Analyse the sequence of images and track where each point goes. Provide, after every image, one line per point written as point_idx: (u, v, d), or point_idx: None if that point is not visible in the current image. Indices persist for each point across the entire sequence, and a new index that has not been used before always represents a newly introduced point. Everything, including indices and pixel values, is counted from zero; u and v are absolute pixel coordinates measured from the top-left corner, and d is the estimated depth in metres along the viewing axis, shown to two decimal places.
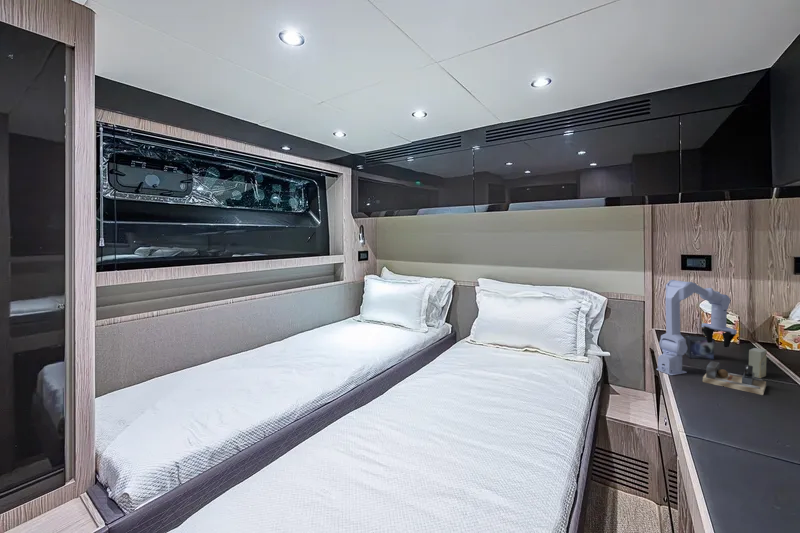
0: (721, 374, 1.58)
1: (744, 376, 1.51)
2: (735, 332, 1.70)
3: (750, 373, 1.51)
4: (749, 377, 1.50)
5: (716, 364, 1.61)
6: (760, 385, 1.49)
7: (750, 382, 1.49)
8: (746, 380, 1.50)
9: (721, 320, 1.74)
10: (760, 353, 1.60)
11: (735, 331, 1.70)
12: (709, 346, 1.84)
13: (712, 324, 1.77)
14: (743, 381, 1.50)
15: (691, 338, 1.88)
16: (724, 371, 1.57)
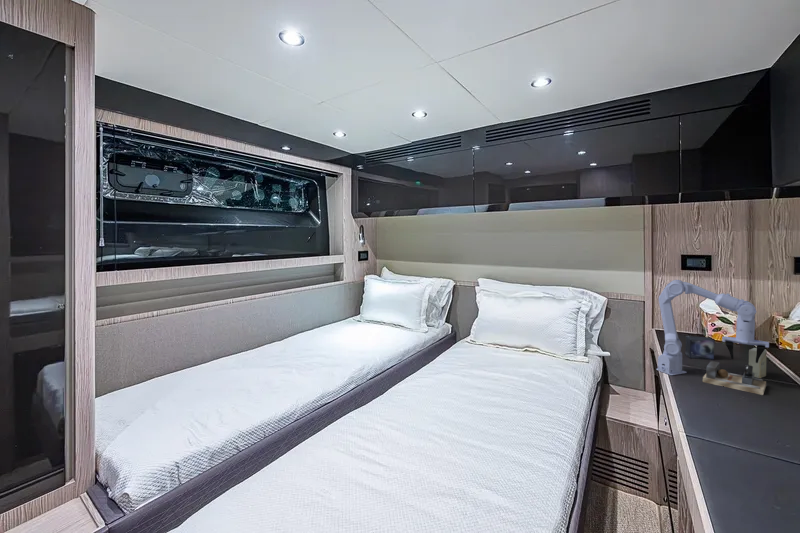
0: (721, 374, 1.58)
1: (744, 376, 1.51)
2: (722, 339, 1.60)
3: (750, 373, 1.51)
4: (749, 377, 1.50)
5: (716, 364, 1.61)
6: (760, 385, 1.49)
7: (750, 382, 1.49)
8: (746, 380, 1.50)
9: None
10: None
11: (722, 338, 1.60)
12: (709, 346, 1.84)
13: None
14: (743, 381, 1.50)
15: (691, 338, 1.88)
16: (724, 371, 1.57)
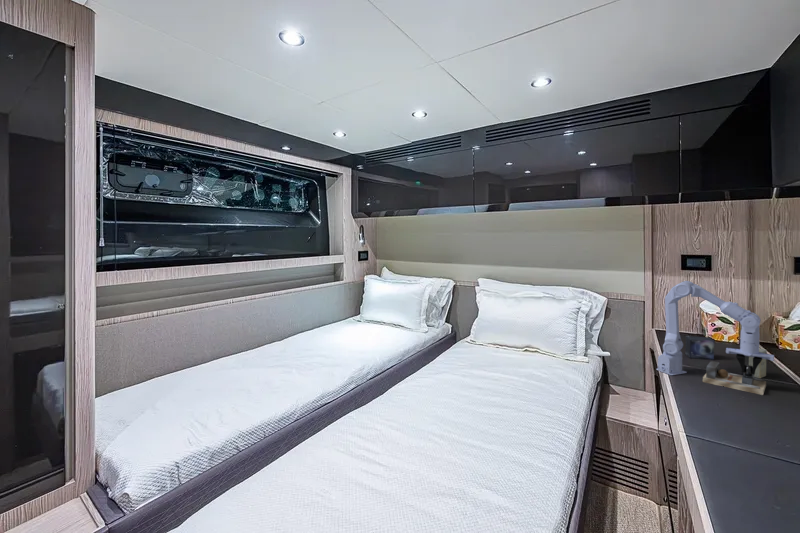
0: (721, 374, 1.58)
1: (744, 376, 1.51)
2: (726, 351, 1.57)
3: (750, 373, 1.51)
4: (749, 377, 1.50)
5: (716, 364, 1.61)
6: (760, 385, 1.49)
7: (750, 382, 1.49)
8: (746, 380, 1.50)
9: None
10: None
11: (726, 350, 1.57)
12: (709, 346, 1.84)
13: None
14: (743, 381, 1.50)
15: (691, 338, 1.88)
16: (724, 371, 1.57)
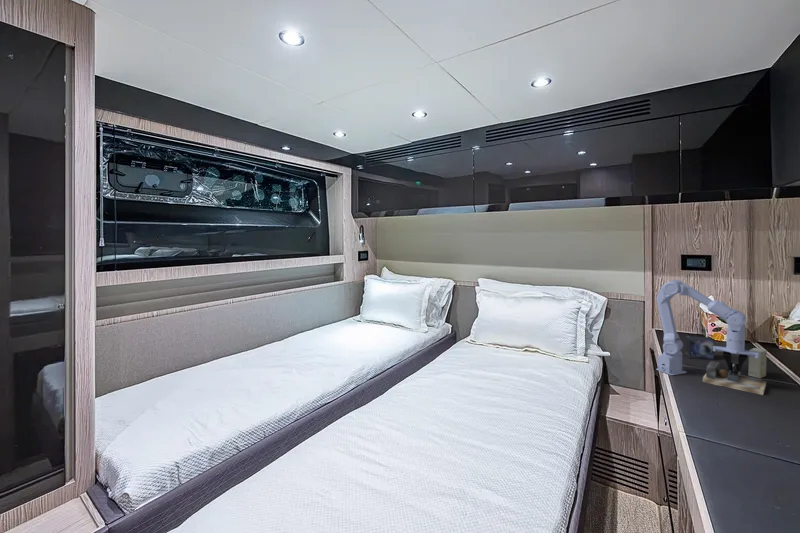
0: (721, 374, 1.58)
1: (730, 373, 1.54)
2: (713, 349, 1.60)
3: (736, 370, 1.54)
4: (735, 374, 1.53)
5: (716, 364, 1.61)
6: (760, 385, 1.49)
7: (736, 379, 1.52)
8: (732, 377, 1.53)
9: None
10: (760, 353, 1.60)
11: (713, 347, 1.60)
12: (709, 346, 1.84)
13: None
14: (729, 378, 1.54)
15: (691, 338, 1.88)
16: (724, 371, 1.57)
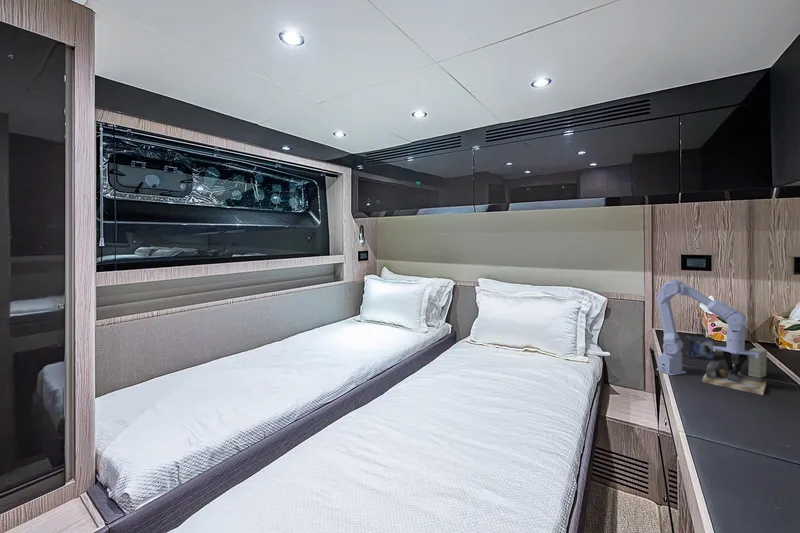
0: (721, 374, 1.58)
1: (730, 373, 1.54)
2: (713, 349, 1.60)
3: (736, 370, 1.54)
4: (735, 374, 1.53)
5: (716, 364, 1.61)
6: (760, 385, 1.49)
7: (736, 379, 1.52)
8: (732, 377, 1.53)
9: None
10: (760, 353, 1.60)
11: (713, 347, 1.60)
12: (709, 346, 1.84)
13: None
14: (729, 378, 1.54)
15: (691, 338, 1.88)
16: (724, 371, 1.57)
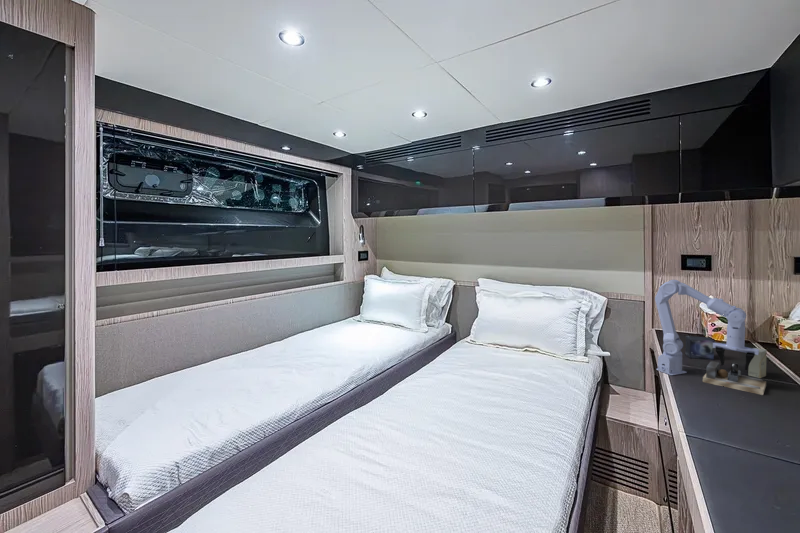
0: (721, 374, 1.58)
1: (730, 373, 1.54)
2: (713, 345, 1.60)
3: (736, 370, 1.54)
4: (735, 374, 1.53)
5: (716, 364, 1.61)
6: (760, 385, 1.49)
7: (736, 379, 1.52)
8: (732, 377, 1.53)
9: None
10: (760, 353, 1.60)
11: (713, 344, 1.60)
12: (709, 346, 1.84)
13: None
14: (729, 378, 1.54)
15: (691, 338, 1.88)
16: (724, 371, 1.57)
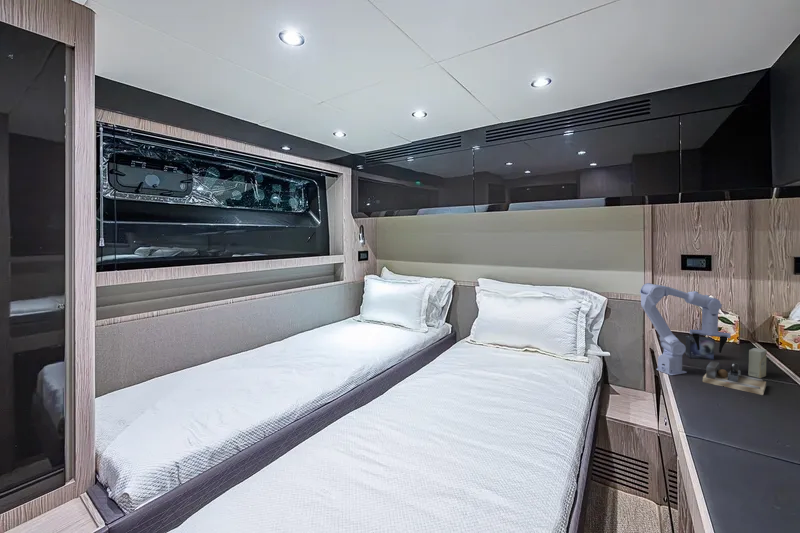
0: (721, 374, 1.58)
1: (730, 373, 1.54)
2: None
3: (736, 370, 1.54)
4: (735, 374, 1.53)
5: (716, 364, 1.61)
6: (760, 385, 1.49)
7: (736, 379, 1.52)
8: (732, 377, 1.53)
9: None
10: (760, 353, 1.60)
11: None
12: (709, 346, 1.84)
13: None
14: (729, 378, 1.54)
15: (691, 338, 1.88)
16: (724, 371, 1.57)
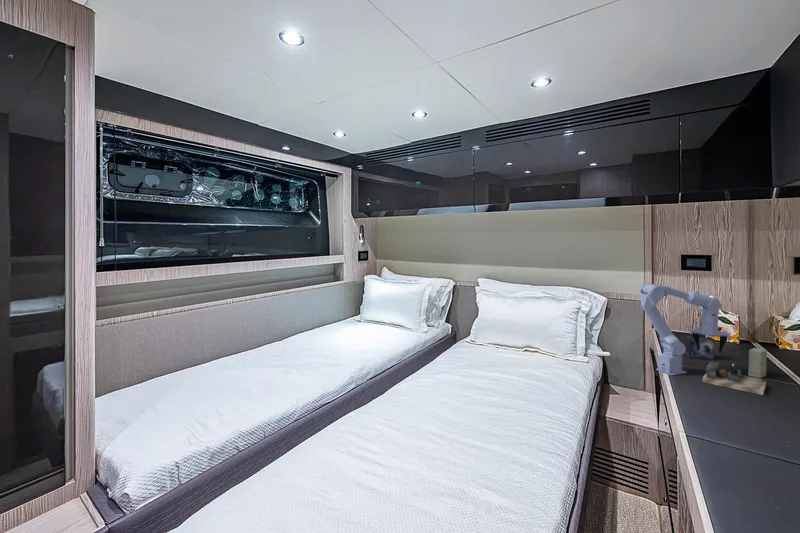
0: (721, 374, 1.58)
1: (730, 373, 1.54)
2: None
3: (736, 370, 1.54)
4: (735, 374, 1.53)
5: (716, 364, 1.61)
6: (760, 385, 1.49)
7: (736, 379, 1.52)
8: (732, 377, 1.53)
9: None
10: (760, 353, 1.60)
11: None
12: (709, 346, 1.84)
13: None
14: (729, 378, 1.54)
15: (691, 338, 1.88)
16: (724, 371, 1.57)
